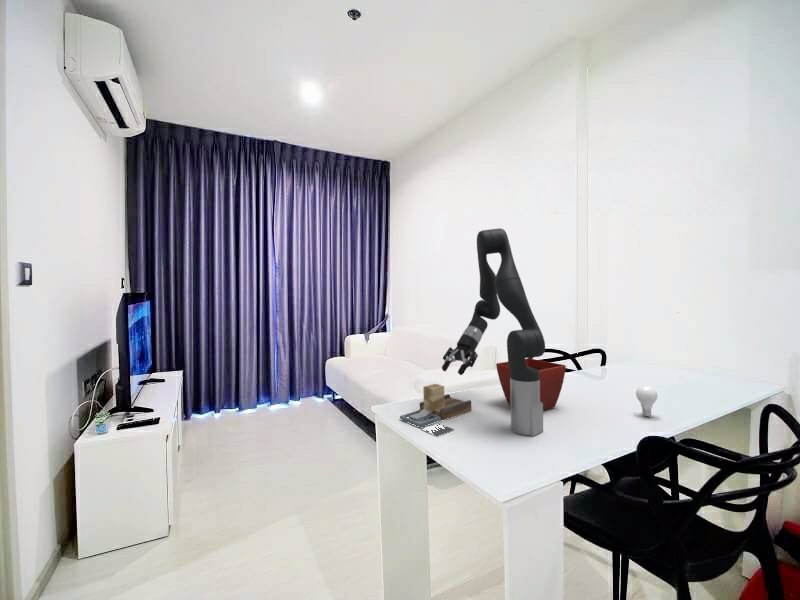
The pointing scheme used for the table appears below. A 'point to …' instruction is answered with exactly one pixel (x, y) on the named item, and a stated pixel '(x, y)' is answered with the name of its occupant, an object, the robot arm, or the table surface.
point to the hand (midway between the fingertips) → (451, 372)
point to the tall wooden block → (434, 397)
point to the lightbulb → (646, 399)
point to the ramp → (451, 407)
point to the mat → (441, 430)
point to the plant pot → (548, 380)
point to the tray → (430, 420)
